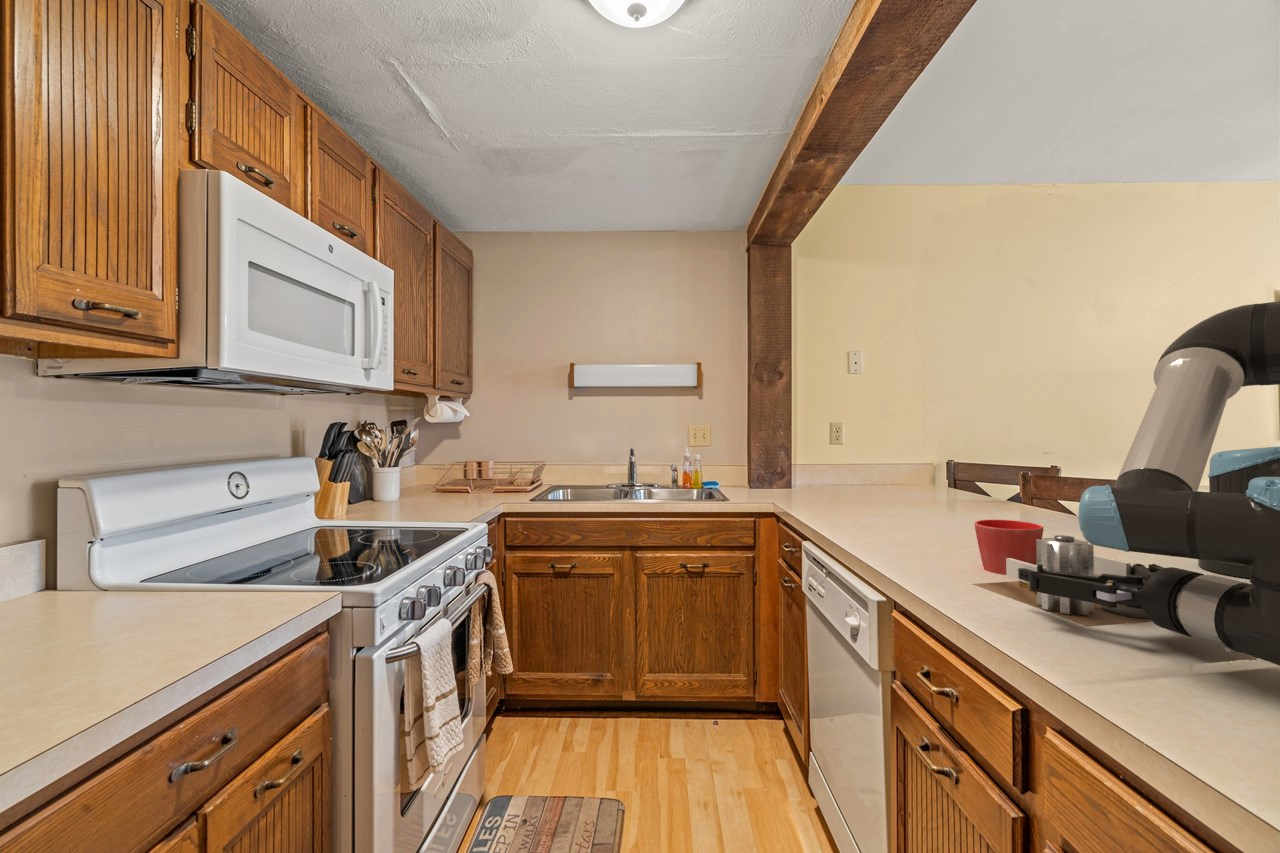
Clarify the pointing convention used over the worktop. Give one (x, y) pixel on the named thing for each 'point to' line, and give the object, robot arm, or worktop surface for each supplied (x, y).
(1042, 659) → the worktop surface
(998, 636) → the worktop surface
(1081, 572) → the grey pinion
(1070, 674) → the worktop surface
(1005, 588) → the gear board
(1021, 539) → the flower pot
